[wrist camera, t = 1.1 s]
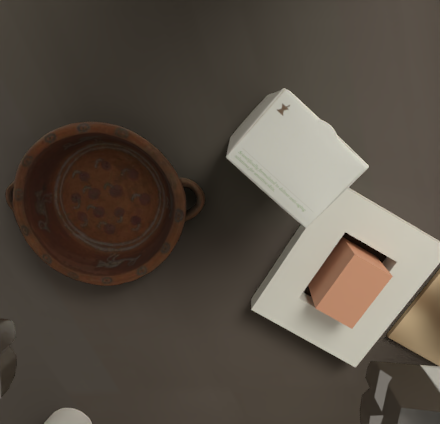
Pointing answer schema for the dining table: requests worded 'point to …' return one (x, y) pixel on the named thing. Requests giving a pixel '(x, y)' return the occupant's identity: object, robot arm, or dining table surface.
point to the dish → (100, 203)
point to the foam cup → (68, 417)
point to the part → (348, 283)
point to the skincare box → (294, 156)
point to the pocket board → (317, 254)
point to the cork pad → (421, 323)
